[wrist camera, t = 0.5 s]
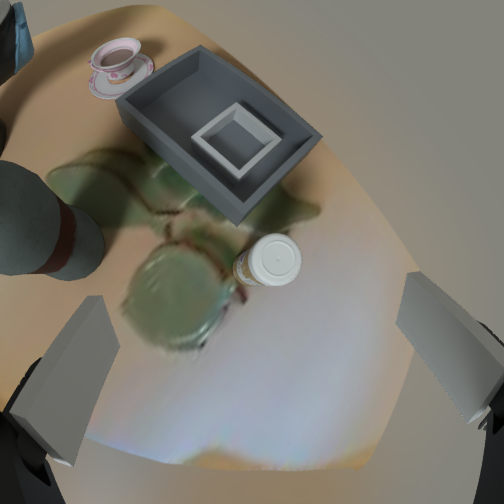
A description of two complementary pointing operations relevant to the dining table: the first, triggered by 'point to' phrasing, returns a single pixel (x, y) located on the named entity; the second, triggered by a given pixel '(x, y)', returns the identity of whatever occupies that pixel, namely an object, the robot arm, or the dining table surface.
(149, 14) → the dining table surface
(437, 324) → the robot arm
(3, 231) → the vodka
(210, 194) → the walled box
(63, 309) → the dining table surface
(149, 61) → the teacup
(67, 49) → the dining table surface
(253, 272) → the sprinkles bottle
